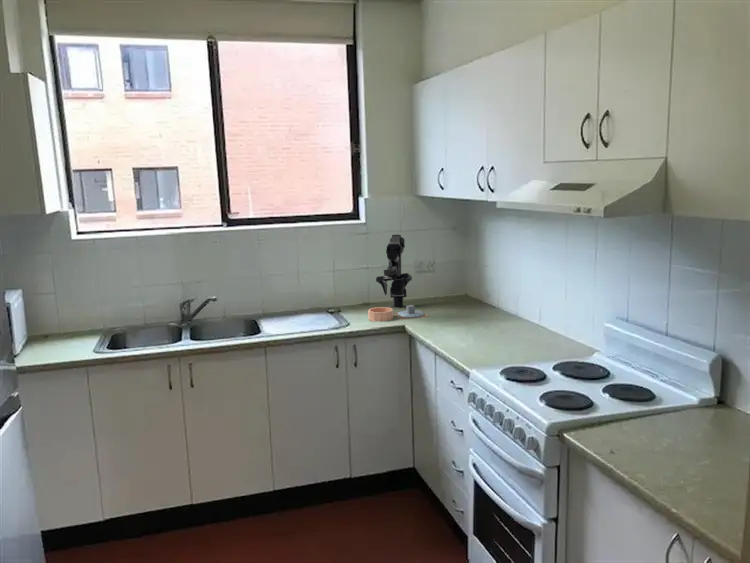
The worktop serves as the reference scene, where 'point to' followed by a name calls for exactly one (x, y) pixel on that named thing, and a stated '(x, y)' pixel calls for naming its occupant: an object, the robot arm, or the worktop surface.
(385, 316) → the bowl
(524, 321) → the worktop surface
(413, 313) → the lid
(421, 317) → the board
